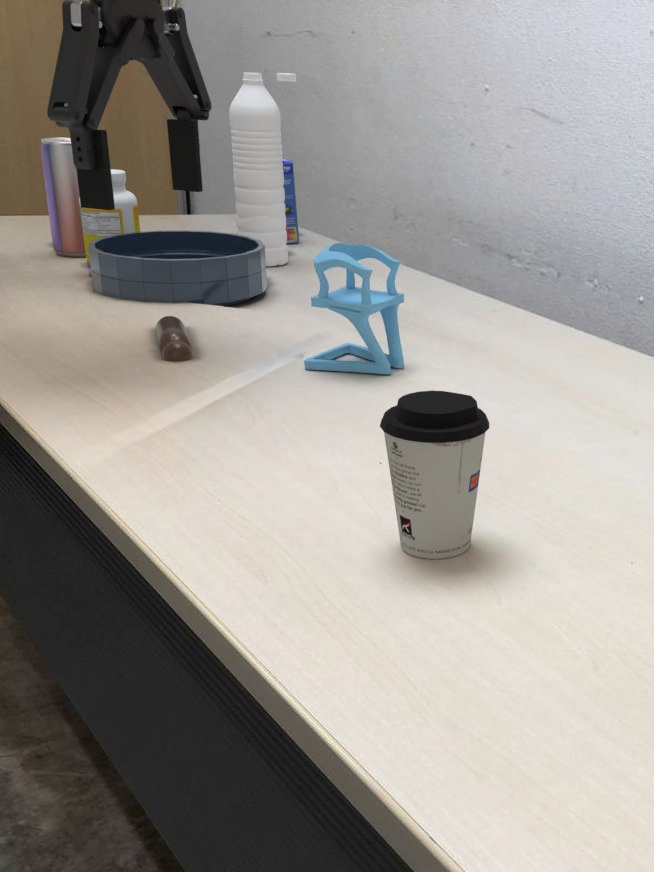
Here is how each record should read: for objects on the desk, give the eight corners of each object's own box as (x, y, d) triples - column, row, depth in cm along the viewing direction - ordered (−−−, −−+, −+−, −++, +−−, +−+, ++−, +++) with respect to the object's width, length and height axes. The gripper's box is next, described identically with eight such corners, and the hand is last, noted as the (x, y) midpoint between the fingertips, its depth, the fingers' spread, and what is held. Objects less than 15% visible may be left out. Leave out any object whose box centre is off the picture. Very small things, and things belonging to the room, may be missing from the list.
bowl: (57, 301, 128) (50, 249, 126) (157, 271, 146) (152, 225, 144) (212, 319, 125) (208, 266, 123) (295, 286, 143) (292, 239, 141)
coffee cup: (386, 570, 71) (383, 421, 67) (378, 525, 77) (375, 387, 73) (496, 563, 73) (498, 417, 69) (479, 520, 79) (481, 384, 75)
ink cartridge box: (239, 234, 174) (232, 137, 169) (274, 232, 177) (268, 137, 172) (265, 245, 167) (258, 145, 162) (300, 243, 170) (295, 144, 165)
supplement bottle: (123, 266, 148) (112, 166, 143) (156, 274, 145) (146, 172, 140) (76, 273, 142) (63, 169, 138) (109, 282, 139) (97, 175, 134)
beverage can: (43, 254, 151) (28, 139, 146) (74, 247, 157) (61, 136, 151) (82, 259, 150) (68, 143, 145) (111, 252, 156) (99, 140, 150)
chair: (376, 381, 108) (373, 256, 103) (302, 368, 110) (296, 246, 106) (416, 362, 115) (415, 244, 110) (346, 351, 117) (342, 235, 113)
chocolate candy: (155, 339, 116) (154, 312, 115) (184, 339, 118) (183, 313, 117) (163, 373, 106) (162, 344, 105) (194, 373, 107) (194, 345, 106)
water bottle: (238, 267, 152) (225, 71, 143) (239, 257, 158) (226, 69, 148) (305, 267, 154) (296, 75, 145) (304, 258, 160) (295, 72, 151)
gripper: (61, -71, 82) (94, 221, 90) (239, -44, 105) (253, 187, 113) (-29, -76, 84) (12, 212, 91) (166, -48, 106) (185, 180, 114)
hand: (145, 199), depth 102 cm, fingers open, 13 cm apart
